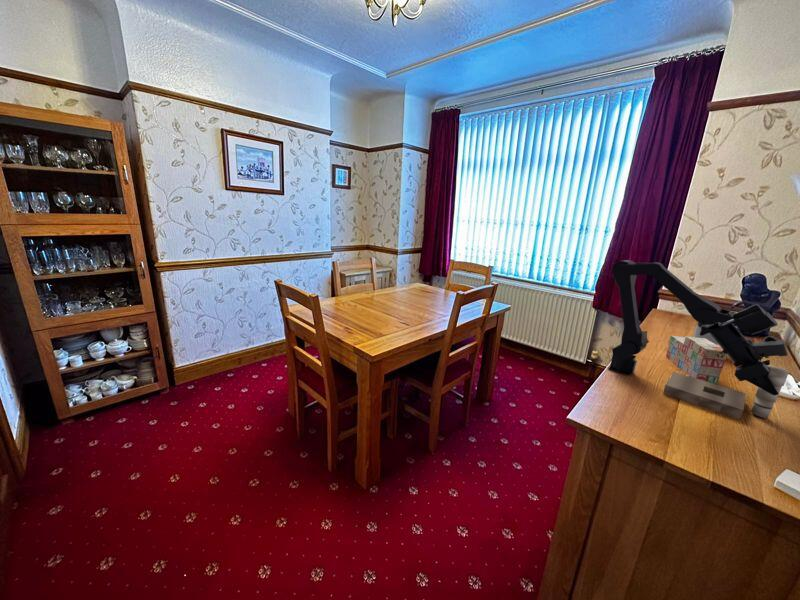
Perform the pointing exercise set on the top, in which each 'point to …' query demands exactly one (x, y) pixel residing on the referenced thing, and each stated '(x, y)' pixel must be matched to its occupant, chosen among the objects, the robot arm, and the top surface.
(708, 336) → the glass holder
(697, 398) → the gray slotted board
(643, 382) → the top surface
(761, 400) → the ash peg
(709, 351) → the stack of blocks
